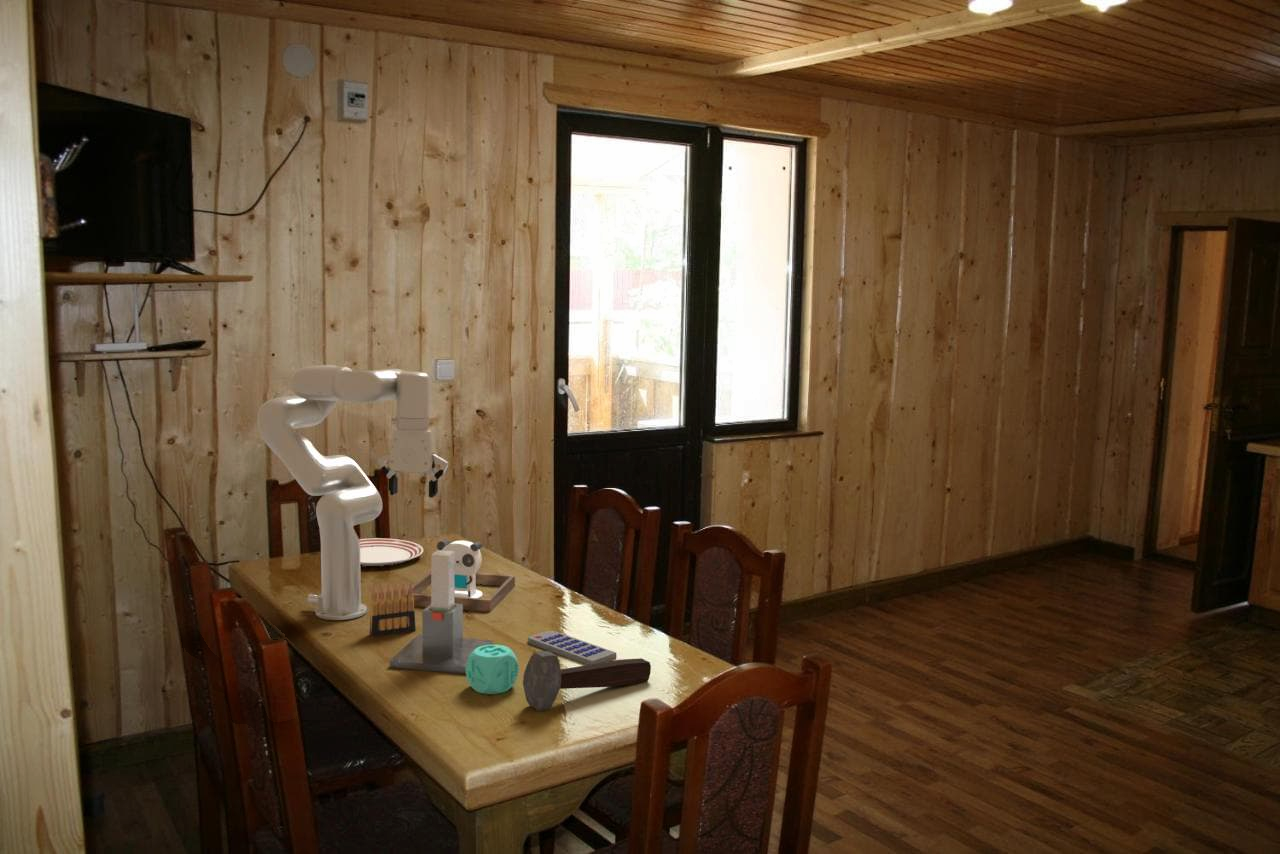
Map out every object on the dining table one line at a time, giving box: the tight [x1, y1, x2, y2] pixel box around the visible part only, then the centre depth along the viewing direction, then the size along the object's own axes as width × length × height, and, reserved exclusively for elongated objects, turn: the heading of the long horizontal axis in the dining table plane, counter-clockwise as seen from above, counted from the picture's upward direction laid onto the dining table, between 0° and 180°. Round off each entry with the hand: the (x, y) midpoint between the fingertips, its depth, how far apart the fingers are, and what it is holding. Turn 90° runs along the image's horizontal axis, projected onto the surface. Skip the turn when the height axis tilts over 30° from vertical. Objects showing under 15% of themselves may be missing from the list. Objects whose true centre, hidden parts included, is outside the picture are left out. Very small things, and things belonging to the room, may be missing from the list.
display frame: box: [406, 571, 516, 612], centre depth 284 cm, size 24×24×3 cm
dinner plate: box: [359, 537, 424, 567], centre depth 319 cm, size 28×27×3 cm
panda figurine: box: [436, 538, 483, 599], centre depth 284 cm, size 12×11×15 cm
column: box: [430, 549, 455, 612], centre depth 236 cm, size 4×4×16 cm
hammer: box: [522, 650, 652, 712], centre depth 218 cm, size 5×11×30 cm
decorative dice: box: [465, 644, 520, 695], centre depth 220 cm, size 8×8×8 cm
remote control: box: [527, 630, 617, 665], centre depth 245 cm, size 8×23×2 cm, turn 48°
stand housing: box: [389, 603, 494, 675], centre depth 237 cm, size 18×18×12 cm
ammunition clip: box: [369, 582, 416, 637], centre depth 252 cm, size 11×2×12 cm, turn 118°
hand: (413, 495), depth 251 cm, fingers open, 9 cm apart
